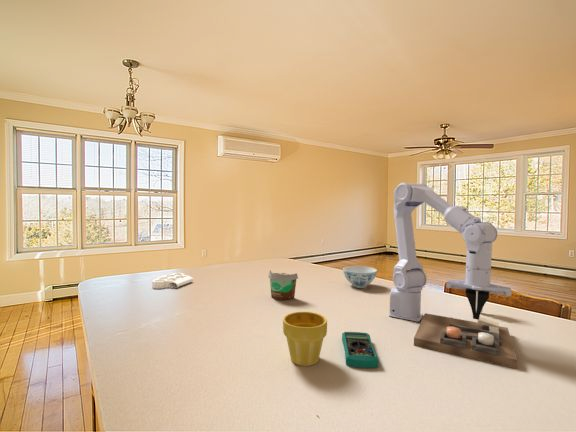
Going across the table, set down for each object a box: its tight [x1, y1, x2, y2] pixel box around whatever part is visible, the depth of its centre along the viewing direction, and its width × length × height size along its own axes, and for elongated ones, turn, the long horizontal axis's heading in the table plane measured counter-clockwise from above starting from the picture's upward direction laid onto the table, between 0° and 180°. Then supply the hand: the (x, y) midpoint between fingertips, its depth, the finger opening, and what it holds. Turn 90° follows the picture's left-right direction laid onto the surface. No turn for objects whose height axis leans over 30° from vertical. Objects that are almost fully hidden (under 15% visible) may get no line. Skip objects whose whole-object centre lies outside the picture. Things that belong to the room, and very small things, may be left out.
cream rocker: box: [476, 316, 500, 330], centre depth 89 cm, size 5×4×1 cm
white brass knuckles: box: [151, 272, 194, 290], centre depth 141 cm, size 3×18×15 cm
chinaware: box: [342, 265, 378, 289], centre depth 142 cm, size 15×15×8 cm
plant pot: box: [282, 311, 328, 367], centre depth 74 cm, size 10×10×10 cm
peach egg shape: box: [446, 326, 461, 338], centre depth 80 cm, size 3×3×2 cm
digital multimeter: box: [341, 331, 380, 369], centre depth 78 cm, size 7×15×3 cm, turn 174°
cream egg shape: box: [478, 332, 494, 345], centre depth 76 cm, size 3×3×2 cm
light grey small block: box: [489, 326, 499, 340], centre depth 81 cm, size 2×4×2 cm, turn 149°
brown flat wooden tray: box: [413, 312, 518, 369], centre depth 86 cm, size 22×22×4 cm
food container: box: [267, 270, 299, 301], centre depth 121 cm, size 12×6×10 cm, turn 68°
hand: (475, 318), depth 83 cm, fingers closed
